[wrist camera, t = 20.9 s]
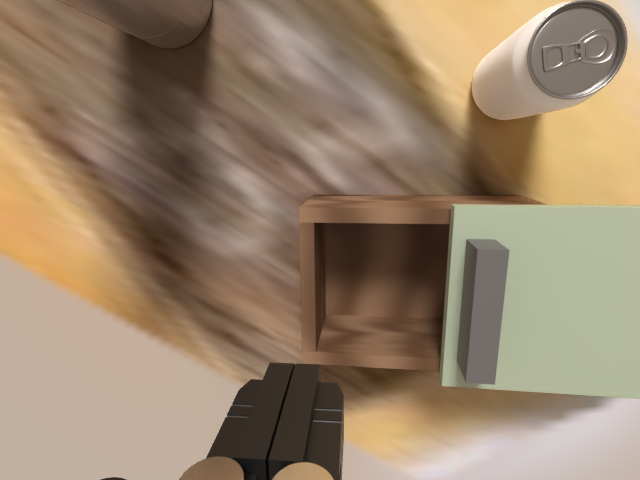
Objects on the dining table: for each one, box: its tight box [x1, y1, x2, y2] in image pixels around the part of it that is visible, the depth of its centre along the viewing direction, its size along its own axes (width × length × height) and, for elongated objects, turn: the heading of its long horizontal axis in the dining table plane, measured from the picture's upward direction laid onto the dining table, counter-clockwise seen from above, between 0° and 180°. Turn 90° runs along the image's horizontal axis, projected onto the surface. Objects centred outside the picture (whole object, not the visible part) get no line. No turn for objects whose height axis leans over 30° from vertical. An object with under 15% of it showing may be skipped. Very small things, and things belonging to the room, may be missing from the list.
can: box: [472, 0, 627, 120], centre depth 29 cm, size 6×6×12 cm
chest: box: [299, 195, 548, 371], centre depth 35 cm, size 20×14×9 cm
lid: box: [439, 204, 640, 399], centre depth 27 cm, size 20×15×4 cm
